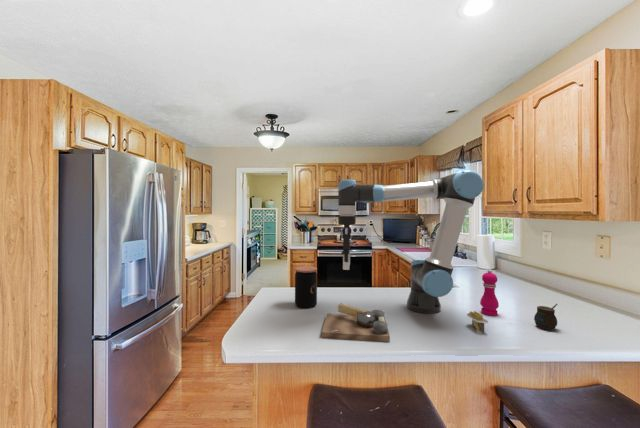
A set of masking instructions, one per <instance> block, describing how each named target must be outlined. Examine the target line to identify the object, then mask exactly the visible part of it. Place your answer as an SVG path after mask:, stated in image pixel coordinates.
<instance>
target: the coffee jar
mask: <svg viewBox="0 0 640 428" xmlns="http://www.w3.org/2000/svg"><path fill="white" fill-rule="evenodd" d="M317 270H318V268H317V267H315V266H309V265H308V266H307V265H306V266H305V265H304V266H298V267H295V269H294V271H295V273H294V304H295V306H296V307H297V308H298V309H305V310H307V309H313V308H315V307H316V305H317V304H318V302H317V301H318V273H317Z"/></svg>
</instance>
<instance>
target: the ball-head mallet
mask: <svg viewBox="0 0 640 428" xmlns="http://www.w3.org/2000/svg"><path fill="white" fill-rule="evenodd" d="M337 312H338V313H342V314H343V315H350V316H353V317H357V325H359V326H361V327H373V323H374V322H375V313H373V312H372V311H371V310H365V309H361V308H357V307H354V306H350V305H349V304H348V305H347V304H343V303H339V304H338V305H337Z"/></svg>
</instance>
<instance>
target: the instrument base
mask: <svg viewBox="0 0 640 428" xmlns="http://www.w3.org/2000/svg"><path fill="white" fill-rule="evenodd" d="M371 312H373V313H375V322H374V323H373V327H361V326H359V325H357V317H353V316H350V315H347V314H344V313H342V314H339V313H338V314H337V313H327V314H326V318H325V320H324V323H323V327H322V331H321V339H322V338H323V339H334V340H335V339H338V340H350V341H352V340H353V341H369V342H384V343H385V342H386V343H390V342H391V336H390V332H389V328H388V322H386V318H385V311H383V310H381V309H380V310H379V309H374V310H371Z"/></svg>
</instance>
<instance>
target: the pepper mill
mask: <svg viewBox="0 0 640 428" xmlns="http://www.w3.org/2000/svg"><path fill="white" fill-rule="evenodd" d="M486 271H487V272H485V273H483V274H482V275H481V280H482V281H483V283H482V286H483V287H484V288H483V289H484V292H483V295H482V297H481V298H480V306H481V308H480V309H481V313H482V314H484V315H485V316H490V317H495V316H498V310H497V309H498V308H499V300H498V298H497V296H496V293H495V292H496V291H495V289H496V288H497V284H496V283H497V282H498V276H497V274H496V273H493V270H492V269H491V268H490V269H487V270H486Z"/></svg>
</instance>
